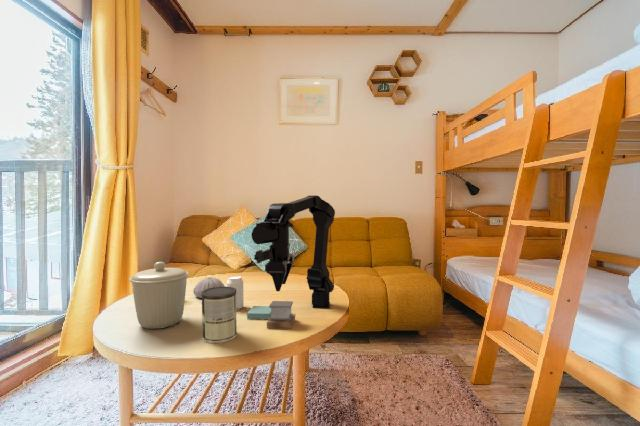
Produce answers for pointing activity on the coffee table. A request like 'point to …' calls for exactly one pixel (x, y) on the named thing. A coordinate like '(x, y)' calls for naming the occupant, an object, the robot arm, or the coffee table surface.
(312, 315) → the coffee table surface
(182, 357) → the coffee table surface
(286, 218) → the robot arm
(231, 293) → the coffee can
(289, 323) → the brown flat square block
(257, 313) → the stand
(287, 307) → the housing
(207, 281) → the sea urchin shell
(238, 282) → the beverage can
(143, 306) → the canister
